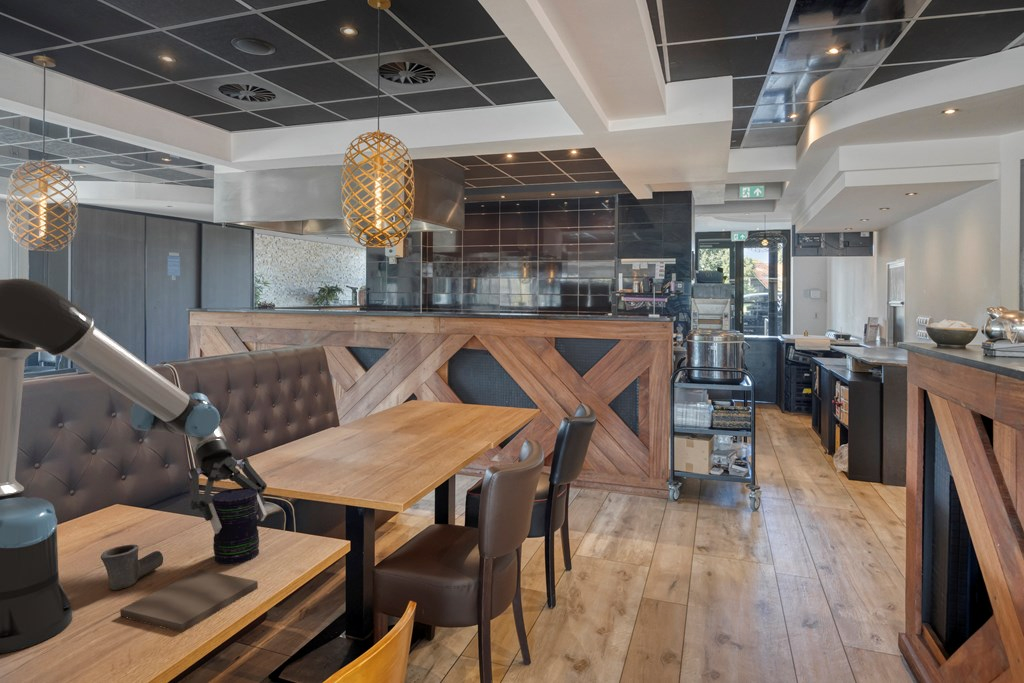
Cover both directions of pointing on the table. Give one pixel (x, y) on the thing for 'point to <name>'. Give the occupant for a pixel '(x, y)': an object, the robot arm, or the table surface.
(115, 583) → the pipe
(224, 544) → the navy cylinder
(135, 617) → the walnut serving board
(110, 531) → the table surface
